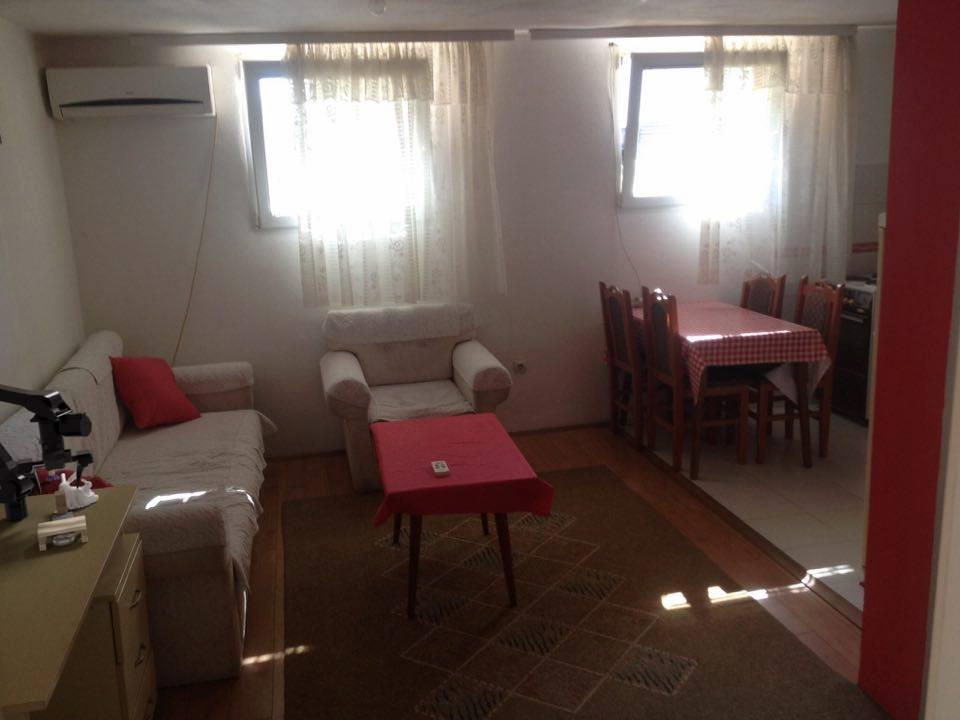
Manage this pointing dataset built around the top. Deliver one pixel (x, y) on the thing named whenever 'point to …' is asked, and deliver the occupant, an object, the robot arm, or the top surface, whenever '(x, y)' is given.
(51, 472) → the toy lamp
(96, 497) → the rabbit figurine
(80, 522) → the footstool
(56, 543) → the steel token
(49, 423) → the robot arm
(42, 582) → the top surface
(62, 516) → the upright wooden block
